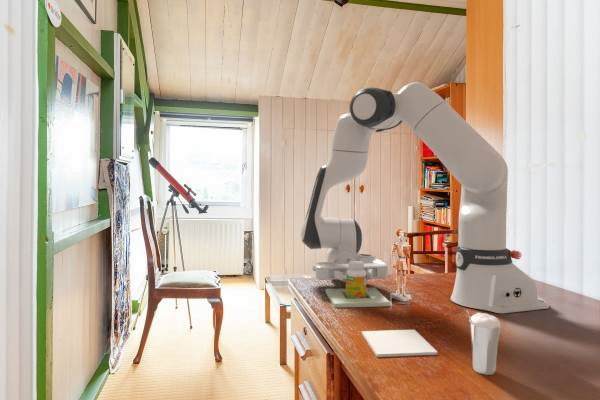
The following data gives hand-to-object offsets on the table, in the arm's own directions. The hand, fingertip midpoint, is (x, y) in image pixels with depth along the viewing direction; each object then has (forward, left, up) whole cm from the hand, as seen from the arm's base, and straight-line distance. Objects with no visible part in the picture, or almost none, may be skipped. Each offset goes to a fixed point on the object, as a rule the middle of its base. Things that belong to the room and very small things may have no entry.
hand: (356, 276), depth 105 cm
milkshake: (-11, +41, -6) cm, 43 cm away
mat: (-1, +29, -6) cm, 30 cm away
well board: (0, -1, -6) cm, 6 cm away
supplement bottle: (0, -1, -6) cm, 6 cm away
